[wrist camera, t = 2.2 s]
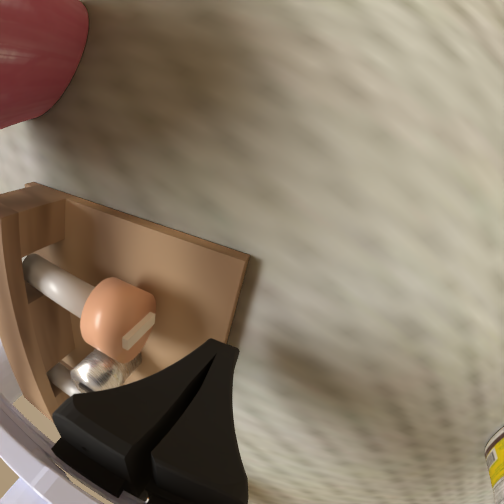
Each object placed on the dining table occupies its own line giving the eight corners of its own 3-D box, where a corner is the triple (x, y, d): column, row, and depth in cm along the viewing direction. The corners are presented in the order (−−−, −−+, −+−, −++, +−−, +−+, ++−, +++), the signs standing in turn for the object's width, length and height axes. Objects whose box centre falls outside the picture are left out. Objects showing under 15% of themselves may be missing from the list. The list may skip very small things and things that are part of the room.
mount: (53, 359, 22) (17, 390, 17) (33, 181, 15) (-30, 198, 10) (200, 444, 19) (173, 495, 14) (249, 254, 13) (200, 318, 8)
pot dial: (110, 355, 17) (72, 392, 13) (108, 326, 16) (64, 363, 12) (141, 372, 17) (106, 414, 13) (142, 344, 16) (100, 387, 12)
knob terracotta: (54, 282, 16) (15, 304, 12) (50, 231, 14) (6, 249, 11) (158, 339, 15) (121, 380, 11) (164, 282, 13) (118, 320, 10)
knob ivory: (69, 372, 19) (44, 396, 16) (62, 342, 18) (32, 366, 14) (155, 424, 18) (133, 457, 15) (156, 397, 17) (128, 434, 13)
